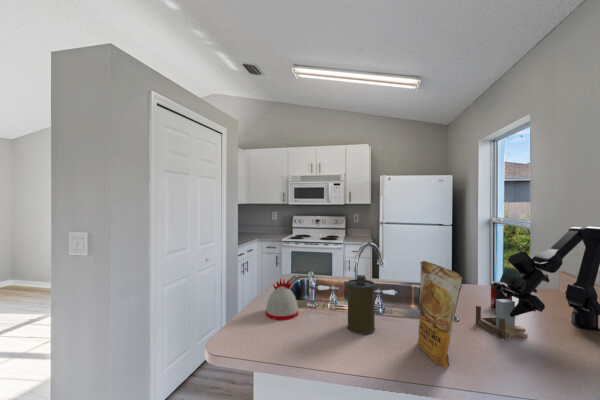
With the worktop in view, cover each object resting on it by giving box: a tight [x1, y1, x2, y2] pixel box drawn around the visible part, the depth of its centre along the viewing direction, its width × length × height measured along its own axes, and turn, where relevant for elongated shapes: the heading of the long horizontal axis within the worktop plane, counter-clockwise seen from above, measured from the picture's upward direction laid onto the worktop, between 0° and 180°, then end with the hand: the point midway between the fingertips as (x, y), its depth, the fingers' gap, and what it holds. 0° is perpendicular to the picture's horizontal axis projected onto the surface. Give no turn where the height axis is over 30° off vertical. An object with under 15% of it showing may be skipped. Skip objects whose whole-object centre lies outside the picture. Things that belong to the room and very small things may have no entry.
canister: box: [346, 274, 376, 336], centre depth 110 cm, size 11×10×20 cm
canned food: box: [490, 280, 513, 308], centre depth 131 cm, size 8×8×11 cm
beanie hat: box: [265, 278, 299, 321], centre depth 124 cm, size 14×14×15 cm
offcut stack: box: [505, 325, 529, 339], centre depth 104 cm, size 7×4×3 cm, turn 96°
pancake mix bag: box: [417, 260, 463, 370], centre depth 92 cm, size 7×19×28 cm, turn 5°
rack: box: [475, 305, 506, 340], centre depth 109 cm, size 12×13×7 cm
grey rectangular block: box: [495, 299, 516, 329], centre depth 109 cm, size 5×3×11 cm, turn 96°
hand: (501, 311), depth 109 cm, fingers open, 8 cm apart
